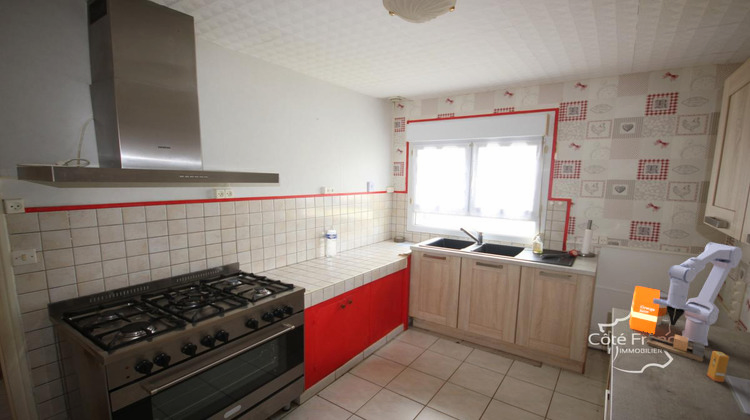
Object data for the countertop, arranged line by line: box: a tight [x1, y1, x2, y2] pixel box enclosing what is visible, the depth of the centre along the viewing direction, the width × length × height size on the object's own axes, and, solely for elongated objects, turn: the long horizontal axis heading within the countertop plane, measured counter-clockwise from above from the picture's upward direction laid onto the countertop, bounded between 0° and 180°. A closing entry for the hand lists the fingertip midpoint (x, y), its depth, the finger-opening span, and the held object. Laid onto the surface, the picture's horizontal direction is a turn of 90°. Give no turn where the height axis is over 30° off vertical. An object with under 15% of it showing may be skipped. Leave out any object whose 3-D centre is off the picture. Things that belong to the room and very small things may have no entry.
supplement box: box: [706, 350, 730, 383], centre depth 116 cm, size 3×4×10 cm
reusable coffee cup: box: [645, 286, 669, 326], centre depth 158 cm, size 13×13×15 cm
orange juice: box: [628, 285, 661, 335], centre depth 150 cm, size 8×9×20 cm
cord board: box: [646, 333, 706, 363], centre depth 135 cm, size 9×17×5 cm, turn 46°
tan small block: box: [673, 334, 689, 351], centre depth 133 cm, size 5×4×4 cm
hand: (672, 324), depth 137 cm, fingers closed
